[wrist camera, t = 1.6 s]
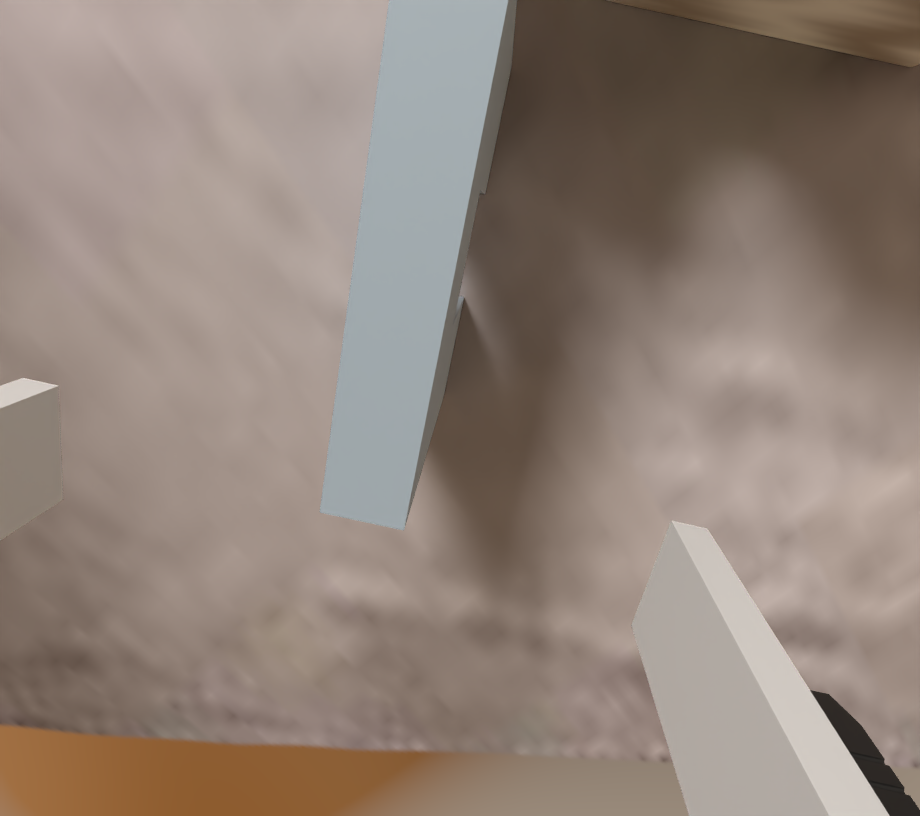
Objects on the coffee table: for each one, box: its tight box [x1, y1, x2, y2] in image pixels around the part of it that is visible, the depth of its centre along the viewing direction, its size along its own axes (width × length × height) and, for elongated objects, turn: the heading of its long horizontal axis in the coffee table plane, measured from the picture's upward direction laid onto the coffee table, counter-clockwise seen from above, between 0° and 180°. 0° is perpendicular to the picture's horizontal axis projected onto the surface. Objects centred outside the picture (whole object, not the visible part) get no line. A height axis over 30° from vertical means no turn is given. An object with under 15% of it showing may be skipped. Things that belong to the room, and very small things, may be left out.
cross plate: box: [320, 0, 517, 530], centre depth 19 cm, size 14×2×12 cm, turn 168°
